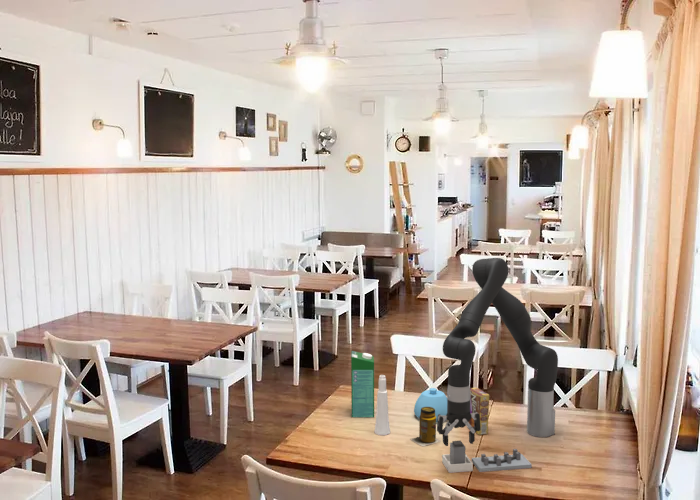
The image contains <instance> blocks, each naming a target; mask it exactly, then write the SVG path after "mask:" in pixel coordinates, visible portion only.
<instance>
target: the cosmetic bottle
mask: <svg viewBox="0 0 700 500" xmlns="http://www.w3.org/2000/svg"><path fill="white" fill-rule="evenodd" d="M376 393H377V395H376V415H375V425H374V434H375V435H378V436H387V435H390V434H391V427H390V421H389V403H388V402H389V401H388V399H389V398H388V390H387V377H386V375H384V374H380V375H379V378H378V390H377V392H376Z"/></svg>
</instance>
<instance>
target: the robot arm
mask: <svg viewBox="0 0 700 500" xmlns="http://www.w3.org/2000/svg"><path fill="white" fill-rule="evenodd" d="M471 272H472V275H473V278H474V280H475V282H476V284H477V285H478V286H479V287H480V290H479V292H478V293H477V294H476V295H475V296H474V297H473V298H472V299H471V300H470V301H469V302H468V303H467V305H466V306H465V307H464V309H463V311H462V313H461V315H460V318H459V319H458V322H457V324H456V326H454V328H453V329H452V331H450V332H449V334H448V335H447V336H446V337H445V339H444V341H443V343H442V353H443V354H444V356H445V357H446V358H449V359H453V360H458V361H460V364H454V365H451V366H450V367H448V371H447V391H446V392H447V394H446V397H447V415H440V414H439V415H438V419H437V423H436V432H437V433H438V434H439V435H442V444H443V445H444V446H445V447H449V434H450V432H451V431H453V429H454V428H455V429H458V428H461V429H462V428H463V429H464V428H465V427H467V429H468V430H469V431H468V443H470V445H473V444H474V442H475V441H476V438H475V437H476V431H480V415H479V414H478V413H477V412H476V411H475V412H474V413H470V397H471V394H470V388H471V385H470V384H471V383H470V382H471V380H470V379H471V376H470V375H471V374H470V373H471V370H472V364H473V361H474V358H475V355H476V345H475V343H474V342H473V341H472V340H471V339H468V338H473V337H475V336H476V335H477V334H478V333H479V330H480V328H481V325H482V322H483V321H484V318H485V316H486V313H487V312H488V309H489V308H490V306H491V305H493V307H494V309H495V310H496V311H497V313H498V315H499V317H500V318H501V320H502V322H503V323H504V325H505V327H506V328H507V330H508V332H509V333H510V335H511V336H512V338H513V339H514V341H515V343H516V345H517V347H518V349H519V352H520V353H521V356H522V358H523V360H524V362H525V364H526V365H527V366H528V367H530V368H531V369H534V370H537V372H536V377H531V378H530V379H528V383H527V386H528V387H527V411H526V412H527V414H526V415H527V418H526V433H527V434H529V435H531V436H533V437H537V438H546V437H547V438H548V437H551V436H554V435H555V431H556V430H555V427H556V410H555V408H554V399H555V398H554V397H555V395H554V394H555V393H554V391H555V384H556V382H557V379H558V378H557V375H558V367H559V357H558V354H557V351H555V349H553V348H551V347H549V346H547V345H546V346H545V345H542V344H541V343H539V341H537V339H536V338H535V337H534V334H533V333H532V318H531V316H530V314H529V311H528V310H527V308H526V307H525V305H524V303H522V301H521V300H520V299H519V298H518V297H516V296H515V295H513V294H512V293H510V292H509V291H507V290H506V289H505V288H504V287H503V286H504V284H505V283H506V280H507V279H508V276H509V265H508V263H507V262H506V260H505V259H503V258H502V257H492V258H491V257H489V258H480V259H477V260H476V261H474V263H473V264H472V269H471ZM471 417H472V418H473V419H474V425H475V426H474V427H472V426H471V425H470V424H469V423H468V422H469V420H470V419H471ZM446 419H447V420H446ZM445 420H446V421H447V422H446V421H445ZM445 422H446V423H445ZM444 423H445V425H444Z"/></svg>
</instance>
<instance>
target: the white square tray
mask: <svg viewBox="0 0 700 500" xmlns="http://www.w3.org/2000/svg"><path fill="white" fill-rule="evenodd" d="M441 459H442V461H441V462H442V465H444V467H445V469H446V470H447V472H448V473H449V474H450V473H452V474H453V473H462V472H464V473H465V472H473V469H474V466H473V465H474V464H473V463H472V459H470V457H469V456H468V455H467V453H465V463H463V464H451V463H450V453H447V454H442V455H441Z"/></svg>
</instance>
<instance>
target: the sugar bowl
mask: <svg viewBox="0 0 700 500" xmlns="http://www.w3.org/2000/svg"><path fill="white" fill-rule="evenodd" d="M415 401H416V402H415V404H414V409H413V413H414V416H415V417H417V419H418V420H419V419H420V418H419V417H420V415H421V408H423V407H432V408H434V409H435V416H436V424H437V419H438V415H439V414H440V415H447V394H445V392H443V391H442V390H438V389H437V388H435V387H431V388H429V389H427V390H424V391H422V392H421V393H420V395H419V396H418V397H417V399H416V400H415ZM446 421H448V420H447V419H446V420H445V422H446Z"/></svg>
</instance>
